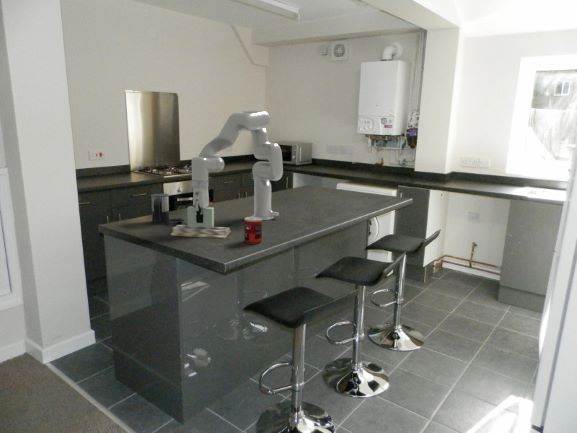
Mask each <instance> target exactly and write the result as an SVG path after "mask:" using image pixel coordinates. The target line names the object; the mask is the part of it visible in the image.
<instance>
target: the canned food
mask: <svg viewBox="0 0 577 433" xmlns="http://www.w3.org/2000/svg"><path fill="white" fill-rule="evenodd" d="M243 219H244V220H243V221H244V223H243V226H244V229H243V233H244V234H243V235H244V236H243V237H244V243H245V244H248V245H259V244H261V243H262V241H263V220H262V218H260V217H251V216H247V217H244V218H243Z"/></svg>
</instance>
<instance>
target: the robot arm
mask: <svg viewBox="0 0 577 433" xmlns="http://www.w3.org/2000/svg"><path fill="white" fill-rule="evenodd" d="M270 123H271V116H270V114H269V113H268V112H267V111H266V110H245V111H243V112H234V113H232V114H230V115H229V116H228V118H227V120H226V121H225V123H224V125H223V127H222V128H221V130H220V132H219V133H218V135H217V136H216V137H214V138H213V139H211V140H210V141H209V142H208V143H207V144H205V145H204V146H203V148H202V149H201V151H200V153H199V154H198V156H194V157H192V159H191V187H192V188H193V195H192V196H193V197H192V201H193V202H192V206H194V208H195V211H196V222H197V223H203V215H202V209H204V208H205V207H209V205H210V197H209V195H210V194H209V173H210V172H211V173H219V172H222V171H223V169H224V168H225V161H224V159H223V158H222V157H220V156H217V155H216V154H217V153H219V152H220V151H223V150H226V149H228V148H230V147H232V146H234V145H235V143H236V141H237V139H238V137H239V136H240V134H241V132H243V131H246V132H248V131H249V132H250V134H251V140H252V141H251V142H252V148H253V155H254V158H255V159H257V160H261V161H257V162H255V163H254V164H253V166H252V176H253V185H254V187H253V189H254V190H253V191H254V192H253V193H254V194H253V198H254V199H253V200H254V201H253V214H252V215H251V216H250V217H260V218H262V221H269V220H273V219H274V218H275V217H274V216H276V217H277V216H278V217H279V215H280V213H279V211H273V209H272V183H271V181H275V182H277V181H279V180H281V179H282V177H283V175H284V168H283V154H282V152H283V151H282V149H281V146H280V145H279V144H278V143H275V142H270V141H269V134H268V130H267V129H266V128H267V127H269V125H270ZM199 207H201V208H199ZM199 209H201V211H200V210H199Z"/></svg>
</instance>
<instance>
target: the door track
mask: <svg viewBox="0 0 577 433" xmlns="http://www.w3.org/2000/svg"><path fill="white" fill-rule="evenodd" d="M231 232H232V230H231V229H230V227H224V226H213V227H197V226H188V224H186V225H185V224H176V226H173V227H172V232H171V233H170V236H174V237H177V236H178V237H193V238H194V237H195V238H208V239H209V238H210V239H226V238H227V237H228V235H229V234H231Z"/></svg>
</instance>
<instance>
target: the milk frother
mask: <svg viewBox="0 0 577 433" xmlns="http://www.w3.org/2000/svg"><path fill="white" fill-rule="evenodd" d="M150 196H151V214H152V215H151V216H152V217H151V222H152V224H157V225H160V224H161V225H164V224H169V223H170V222H171V223H178V224H182V223H183V222H184V221H185V219H184V218H182V217H180V218H179V217H178V218H171V219H170V210H169V208H170V205H169V203H170V202H169V199H170V198H169V196H170V195H169V194H168V193H152V194H150Z"/></svg>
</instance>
